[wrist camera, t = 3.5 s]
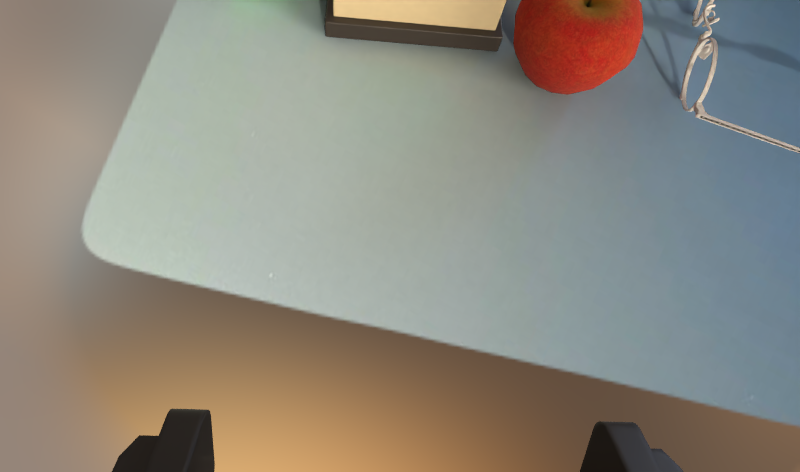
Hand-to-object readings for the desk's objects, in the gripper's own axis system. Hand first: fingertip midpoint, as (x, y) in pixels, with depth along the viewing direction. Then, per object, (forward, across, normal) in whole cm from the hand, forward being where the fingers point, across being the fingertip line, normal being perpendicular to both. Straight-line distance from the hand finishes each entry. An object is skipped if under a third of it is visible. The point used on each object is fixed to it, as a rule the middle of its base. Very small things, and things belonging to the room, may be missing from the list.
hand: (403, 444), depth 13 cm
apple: (+34, -12, -1) cm, 36 cm away
